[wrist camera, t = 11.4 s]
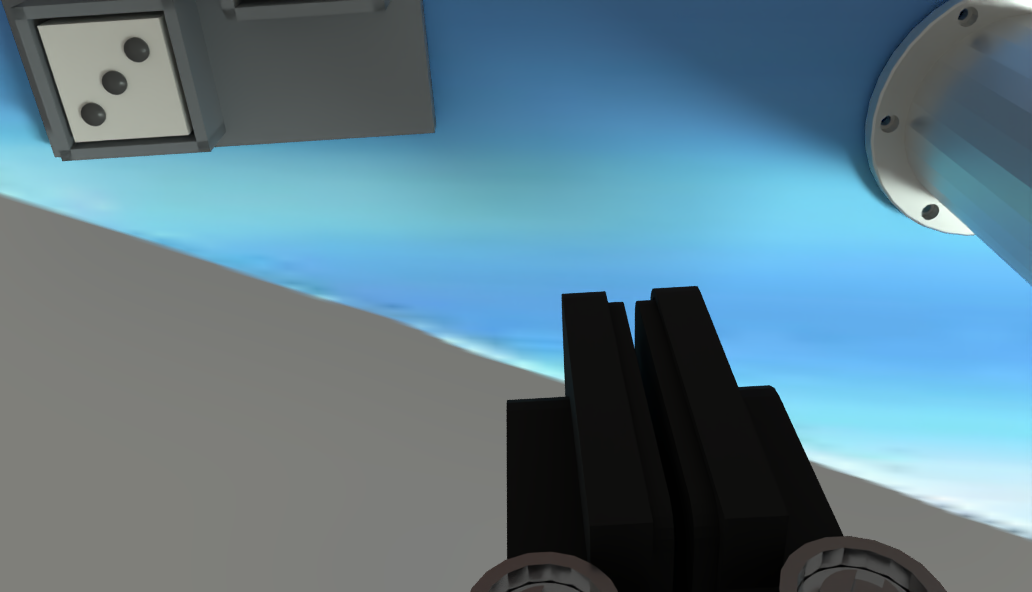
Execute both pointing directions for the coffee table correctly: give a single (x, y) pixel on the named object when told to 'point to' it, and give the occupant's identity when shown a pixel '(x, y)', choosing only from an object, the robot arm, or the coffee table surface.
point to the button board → (258, 71)
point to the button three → (117, 75)
